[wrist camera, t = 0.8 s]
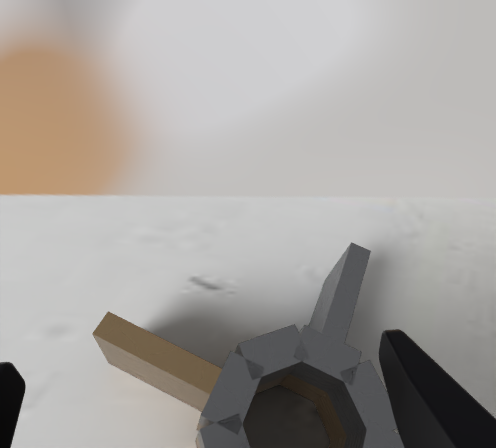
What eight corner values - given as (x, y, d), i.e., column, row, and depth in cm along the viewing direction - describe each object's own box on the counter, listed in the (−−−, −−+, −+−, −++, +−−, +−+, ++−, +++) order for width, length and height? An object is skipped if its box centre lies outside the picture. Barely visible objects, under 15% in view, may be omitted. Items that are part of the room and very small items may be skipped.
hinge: (438, 466, 21) (500, 461, 17) (157, 621, 16) (150, 666, 12) (335, 276, 27) (363, 239, 23) (106, 348, 22) (89, 316, 18)
